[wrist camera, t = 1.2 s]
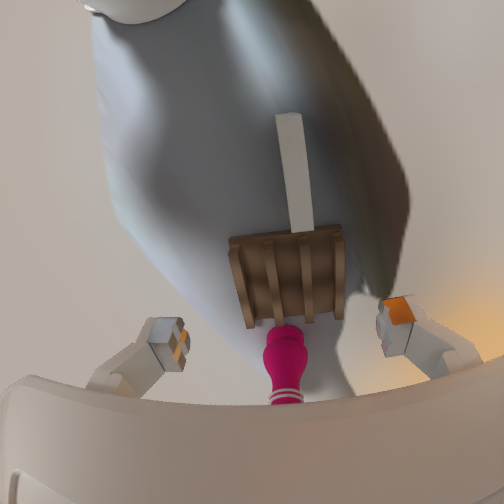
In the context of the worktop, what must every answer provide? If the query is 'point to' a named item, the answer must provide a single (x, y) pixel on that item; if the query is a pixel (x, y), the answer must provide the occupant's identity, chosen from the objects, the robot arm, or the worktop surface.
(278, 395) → the pepper mill
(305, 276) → the walnut rack
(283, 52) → the worktop surface
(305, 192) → the clay strip
